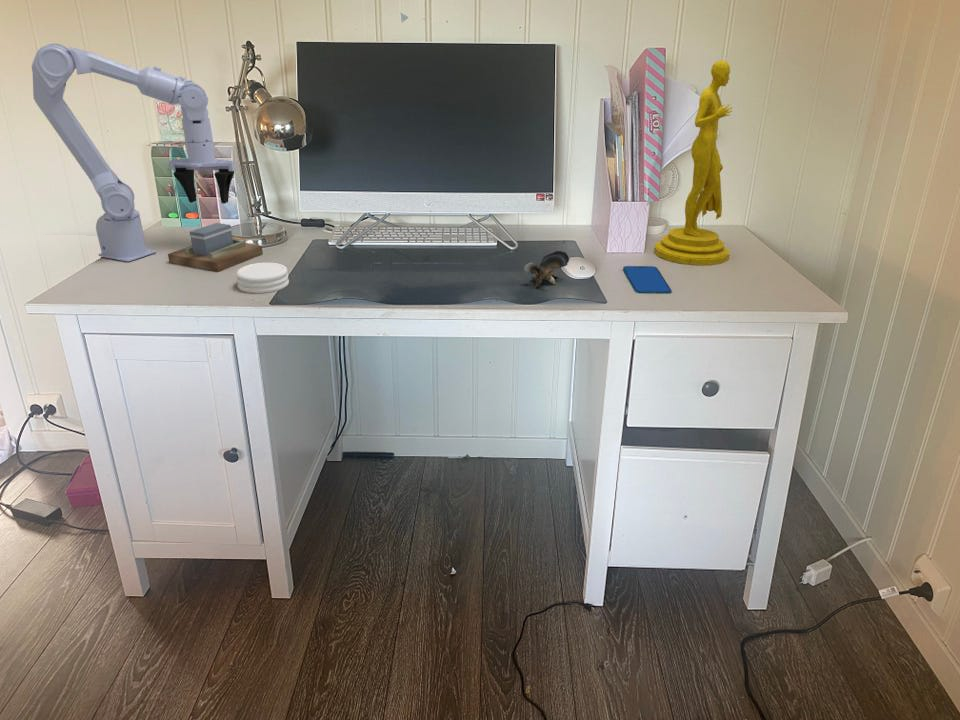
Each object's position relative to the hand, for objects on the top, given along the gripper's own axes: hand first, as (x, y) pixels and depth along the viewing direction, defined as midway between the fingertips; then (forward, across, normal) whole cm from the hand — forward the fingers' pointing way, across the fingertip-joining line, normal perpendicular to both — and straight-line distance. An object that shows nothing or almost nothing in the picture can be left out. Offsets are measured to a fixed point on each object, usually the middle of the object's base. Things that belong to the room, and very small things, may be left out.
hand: (209, 202), depth 161 cm
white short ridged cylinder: (+11, +21, -24) cm, 34 cm away
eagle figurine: (+11, +78, -16) cm, 80 cm away
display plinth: (+10, +4, -9) cm, 14 cm away
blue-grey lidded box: (+8, +4, -9) cm, 13 cm away
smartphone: (+11, +98, -12) cm, 100 cm away
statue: (+11, +111, +8) cm, 112 cm away
